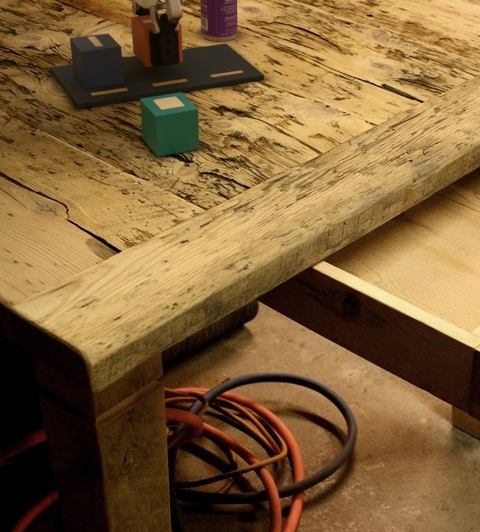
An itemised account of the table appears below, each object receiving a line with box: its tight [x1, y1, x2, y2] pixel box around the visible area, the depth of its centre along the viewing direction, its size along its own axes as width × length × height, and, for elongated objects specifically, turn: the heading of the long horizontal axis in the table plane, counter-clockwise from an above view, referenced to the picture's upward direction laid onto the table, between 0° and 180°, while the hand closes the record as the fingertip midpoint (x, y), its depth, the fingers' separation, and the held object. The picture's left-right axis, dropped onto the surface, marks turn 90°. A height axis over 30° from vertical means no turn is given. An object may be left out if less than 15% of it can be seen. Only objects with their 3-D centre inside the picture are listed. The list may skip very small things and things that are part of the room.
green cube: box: [139, 92, 200, 158], centre depth 93 cm, size 4×4×4 cm
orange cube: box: [130, 12, 183, 67], centre depth 106 cm, size 4×4×4 cm
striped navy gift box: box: [69, 32, 124, 89], centre depth 103 cm, size 4×4×4 cm
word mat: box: [49, 43, 265, 109], centre depth 108 cm, size 22×11×1 cm, turn 120°
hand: (157, 55), depth 107 cm, fingers closed on orange cube, 4 cm apart
